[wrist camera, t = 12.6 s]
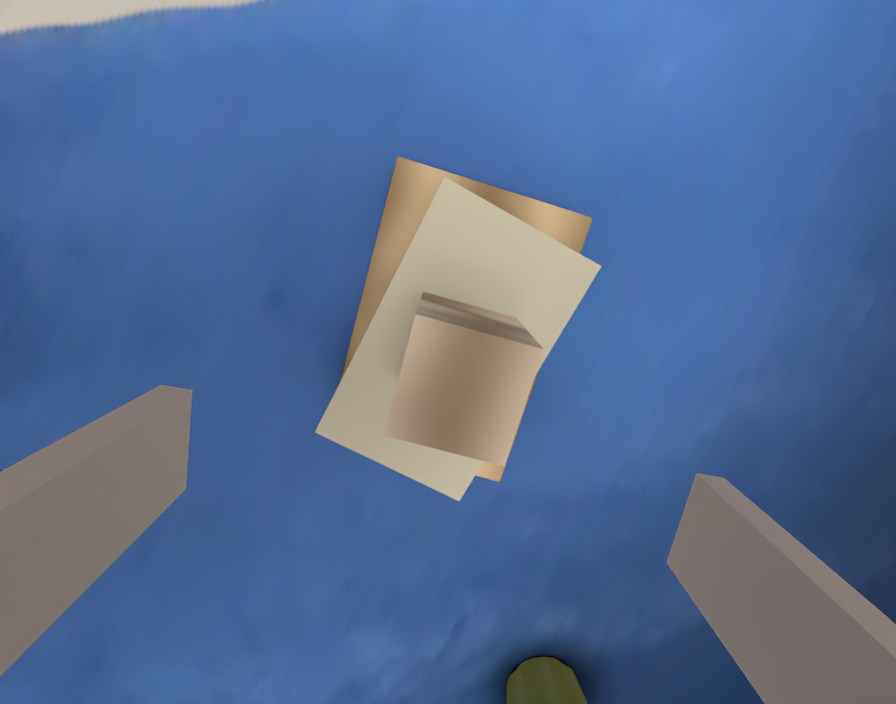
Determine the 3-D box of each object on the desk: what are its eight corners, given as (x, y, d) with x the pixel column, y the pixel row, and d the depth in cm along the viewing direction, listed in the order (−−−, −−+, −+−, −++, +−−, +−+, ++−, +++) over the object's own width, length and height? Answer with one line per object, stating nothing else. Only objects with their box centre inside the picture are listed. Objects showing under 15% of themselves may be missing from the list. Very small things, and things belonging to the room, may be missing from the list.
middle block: (334, 401, 31) (314, 432, 26) (444, 186, 28) (444, 176, 23) (456, 461, 32) (459, 501, 27) (574, 260, 29) (601, 266, 24)
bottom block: (341, 409, 37) (326, 435, 32) (404, 167, 33) (397, 156, 28) (492, 449, 38) (499, 481, 33) (571, 220, 34) (592, 217, 29)
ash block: (398, 381, 26) (383, 435, 19) (423, 291, 25) (415, 314, 18) (488, 405, 26) (504, 466, 19) (516, 317, 25) (544, 349, 18)
